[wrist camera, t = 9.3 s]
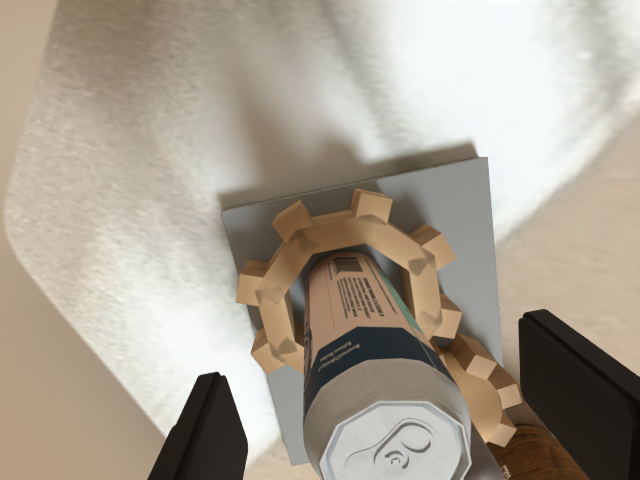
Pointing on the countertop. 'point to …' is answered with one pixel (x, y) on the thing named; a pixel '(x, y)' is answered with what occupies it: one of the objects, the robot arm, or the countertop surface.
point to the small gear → (481, 401)
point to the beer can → (375, 382)
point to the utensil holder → (535, 457)
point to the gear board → (407, 215)
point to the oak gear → (333, 233)
